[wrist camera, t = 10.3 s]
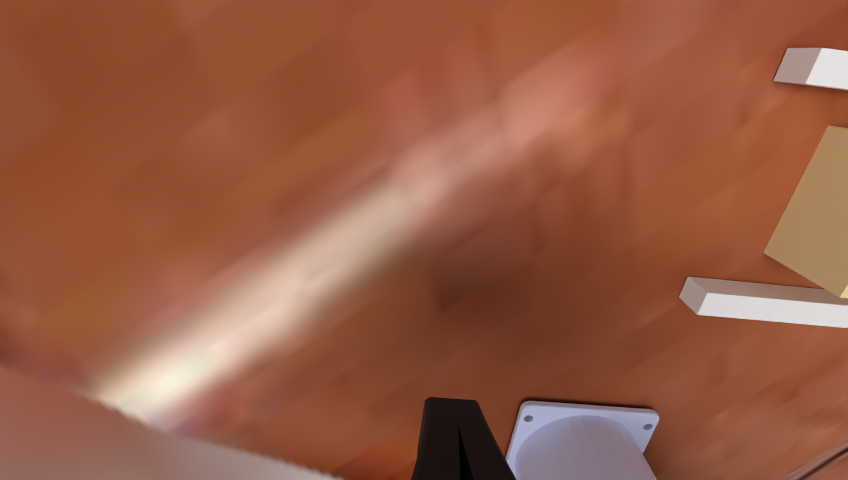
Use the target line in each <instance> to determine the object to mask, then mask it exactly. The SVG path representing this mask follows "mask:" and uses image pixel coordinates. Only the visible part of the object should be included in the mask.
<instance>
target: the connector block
mask: <svg viewBox="0 0 848 480" xmlns="http://www.w3.org/2000/svg"><path fill="white" fill-rule="evenodd" d="M763 253H764V254H766V255H768V256H769V257H771V258H773V259H774V260H776V261H778V262H780V263H781V264H783V265H785V266H786V267H788V268H790V269H792V270H793V271H795V272H797V273H798V274H800V275H802V276H804V277H805V278H807V279H809V280H810V281H812V282H814V283H816V284H817V285H819V286H821V287H822V288H824V289H826V290H828V291H829V292H831V293H833V294H834V295H836V296H838V297H840V298H848V128H844V127H836V126H828V127H827V129H826V131H825V133H824V135H823V137H822V139H821V141H820V143H819V145H818V147H817V149H816V151H815V152H814V154H813V156H812V158H811V160H810V162H809V164H808V166H807V168H806V170H805V172H804V174H803V176H802V178H801V180H800V182H799V184H798V186H797V188H796V190H795V192H794V194H793V196H792V198H791V200H790V201H789V203H788V205H787V207H786V209H785V211H784V213H783V215H782V217H781V219H780V221H779V223H778V225H777V227H776V229H775V231H774V233H773V235H772V237H771V239H770V241H769V243H768V245H767V247H766V249H765V250H764V252H763Z"/></svg>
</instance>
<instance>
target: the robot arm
mask: <svg viewBox="0 0 848 480" xmlns="http://www.w3.org/2000/svg"><path fill="white" fill-rule="evenodd" d="M528 415H530V416H528ZM658 421H659V416H658V414H657V413H656V411H654V410H651V409H639V408H625V407H611V406H597V405H583V404H569V403H555V402H541V401H526V402H524V403H523V404H522V405H521V406H520V410H519V413H518V417H517V420H516V424H515V427H514V431H513V434H512V438H511V441H510V444H509V448H508V451H507V455H506V458H504V456H503V454H502V452H501V450H500V448H499V446H498V444H497V442H496V440H495V438H494V436H493V434H492V432H491V430H490V428H489V426H488V424H487V422H486V420H485V418H484V415H483V413H482V411H481V408H480V406H479V404H478V403H477V402H476V400H463V399H449V398H435V397H429V398H428V399H426V400H425V404H424V411H423V417H422V423H421V430H420V436H419V443H418V453H417V461H416V464H415V468H414V472H413V475H412V478H411V480H657V479H656V477H655V475H654V474H653V472H652V470H651V468H650V467H649V465H648V463H647V461H646V459H645V458H644V456H643V452H644V450H645V448H646V446H647V444H648V442H649V440H650V438H651V436H652V434H653V432H654V430H655V427H656V425H657V423H658Z"/></svg>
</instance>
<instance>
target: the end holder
mask: <svg viewBox="0 0 848 480" xmlns="http://www.w3.org/2000/svg"><path fill="white" fill-rule="evenodd" d="M773 81H777V82H785V83H793V84H800V85H808V86H816V87H824V88H832V89H839V90H847V91H848V51H841V50H834V49H826V48H787V50H786V53H785V55H784V57H783V60H782V62H781V64H780V66H779V69H778V71H777V73H776V76H775V78H774V80H773ZM679 298H680V299H681V300H682V301H683V302H684V303H685V304H686V305H688V306H689V307H690V308H691V309H692V310H693V311H694V312H695V313H696V314H697V315H707V316H718V317H730V318H741V319H752V320H764V321H775V322H787V323H798V324H809V325H821V326H832V327H844V328H848V298H840V297H838V296H836V295H834V294H833V293H831V292H829V291H828V290H826V289H816V288H805V287H795V286H784V285H773V284H763V283H752V282H741V281H731V280H720V279H709V278H699V277H687V279H686V282H685V284H684V286H683V289H682V291H681V293H680V295H679Z"/></svg>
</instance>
